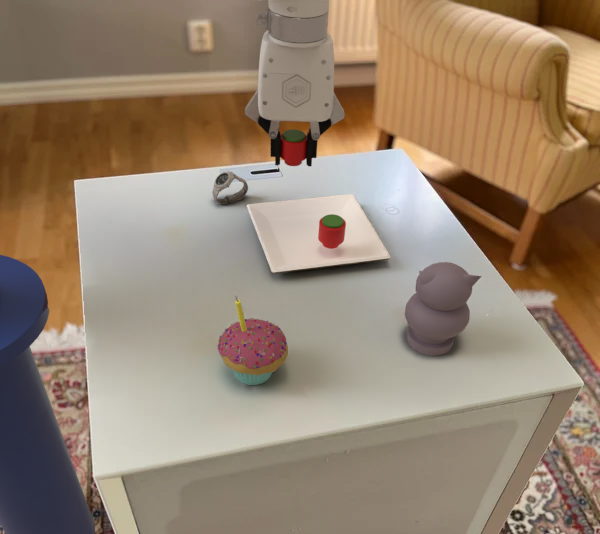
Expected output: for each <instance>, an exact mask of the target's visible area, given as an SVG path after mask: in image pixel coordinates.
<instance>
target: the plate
mask: <svg viewBox="0 0 600 534" xmlns="http://www.w3.org/2000/svg"><path fill="white" fill-rule="evenodd" d="M246 209H247V211H248V213H249V214H248V215H249V216H250V218H251V222H252V224H253V227H254V229H255V232H256V235H257V237H258V240H259V242H260V245H261V248H262V250H263V252H264V255H265V258H266V260H267V263H268V265H269V269H270V271H271V273H273V274H283V273H291V272H299V271H307V270H316V269H324V268H331V267H340V266H341V267H342V266H349V265H357V264H364V263H374V262H381V261H388V260H390V259H391V258H392V256H391V255H390V252H389V251H388V250H387V248H386V246H385V244H384V243H383V241H382V240H381V238H380V236H379V235H378V233H377V231H376V229H375V228H374V226H373V225H372V223H371V221H370V220H369V217H368V216H367V214H366V213H365V211H364V210H363V207H362V206H361V205H360V203H359V201H358V199H357V198H356V196H355V195H354V194H352V193H349V194H338V195H337V194H336V195H328V196H319V197H308V198H307V197H306V198H299V199H298V198H297V199H288V200H287V199H286V200H278V201H268V202H257V203H249V204H247V205H246ZM330 214H333V215H338V216H340V217H342V218H343V219H344V220H345V222H346V228H345V237H344V241H343V243H342V244H340V245H339V246H338V247H337V248H334V249H329V248H326V247H324V246H323V244H322V243H321V242H320V241H319V239H318V233H319V221H320V219H321V218H323V217H324V216H326V215H330Z"/></svg>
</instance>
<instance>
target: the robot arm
mask: <svg viewBox="0 0 600 534" xmlns="http://www.w3.org/2000/svg"><path fill="white" fill-rule="evenodd" d="M259 1H260V2H261V1H264V0H259ZM267 3H268V4H267V5H268V8H266V9H265V11H262V12H256V25H257V26H262V27H265V29H266V31H264V33H263V35H262V37H261V38H262V39H261V42H260V43H261V44H260V50H259V60H258V61H259V62H258V78H257V89H256V91H255V92H254V93H253V95H252V96H251V98H250V99H249V101H248V103H246V106H245V107H244V115H245V116H246V117H247V118H249V119H251V120H252V121H253V122H255V123H257V124H258V125H259V127H261V128H262V130H263V131H265V133H266V134H267V135H268V137H269V139H270V158H274V165H275V166H280V165H281V157H280V140H281V139H280V136H281V131H280V123H281V122H303V123H305V122H307V123H309V129H308V132H306V135H307V137H308V142H307V158H306V159H305V160H306V166H307V167H312V165H313V164H312V163H313V161H312V160H313V159H317V153H318V142H319V141H318V140H320V138H321V136H322V135H323V134H324V133H325V132H326V131H327V130H329V129H330V128H331V127H332V126H333V125H335V124H337V123H338V122H340V121H342V120H344V119H345V117H346V113H345V109H344V108H343V106H342V104H341V102H340V101H339V99H338V97H337V95H336V93H335V50H334V42H333V38H332V36H331V35H330V34H329V33H328V27H329V26H328V25H329V12H330V10H329V9H330V0H267Z"/></svg>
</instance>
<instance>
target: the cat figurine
mask: <svg viewBox="0 0 600 534" xmlns="http://www.w3.org/2000/svg"><path fill="white" fill-rule="evenodd" d="M482 277H483V276H482V275H476V274H469V272H467V270H465V269H464V268H463V267H462V266H461V265H459V264H456V263H453V262H449V261H439V262H435V263H432V264H430V265H428V266H426V267H424V268H423V269H422V270H419V271H418V276H417V278H416V282H415V292H416V293H413V295H412V296H411V297H410V298H409V299H408V301H407V302H406V304H405V309H404V317H405V320H406V323H407V325H408V328H407V332H406V341H407V344H408V346H409V347H411V349H412V350H414V351H416V352H417V353H419V354H422V355H424V356H430V357H436V356H437V357H439V356H442V355H445V354H447V353H449V352H450V350H451V349H452V347H453V345H454V342H455V338H456V336H458V335H460V334H461V333H462V332H464V330H465V329H466V327H467V326H468V324H469V322H470V318H471V315H470V313H471V310H470V307H469V305H468V303H467V302H468V300H469V299H470V297H471V295H472V293H473V286H474V285H475V284H476V283H477V282H478V281H479V280H480V279H481V278H482Z"/></svg>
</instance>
